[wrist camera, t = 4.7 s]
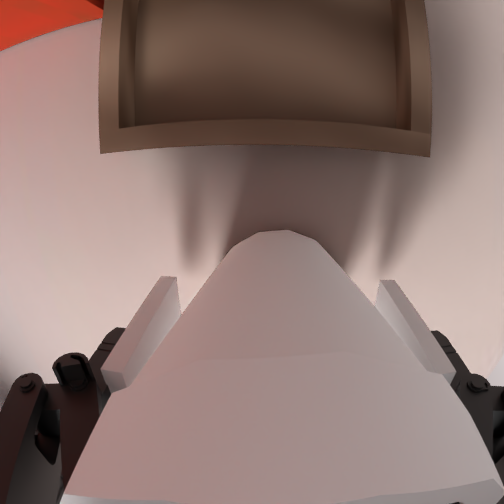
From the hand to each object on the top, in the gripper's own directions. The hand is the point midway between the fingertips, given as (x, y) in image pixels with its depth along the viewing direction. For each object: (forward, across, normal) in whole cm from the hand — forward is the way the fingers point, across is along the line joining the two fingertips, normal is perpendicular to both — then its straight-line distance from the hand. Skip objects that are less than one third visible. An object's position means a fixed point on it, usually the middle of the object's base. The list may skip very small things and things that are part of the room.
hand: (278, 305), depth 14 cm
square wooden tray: (+2, +1, -14) cm, 14 cm away
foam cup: (+2, 0, 0) cm, 2 cm away
